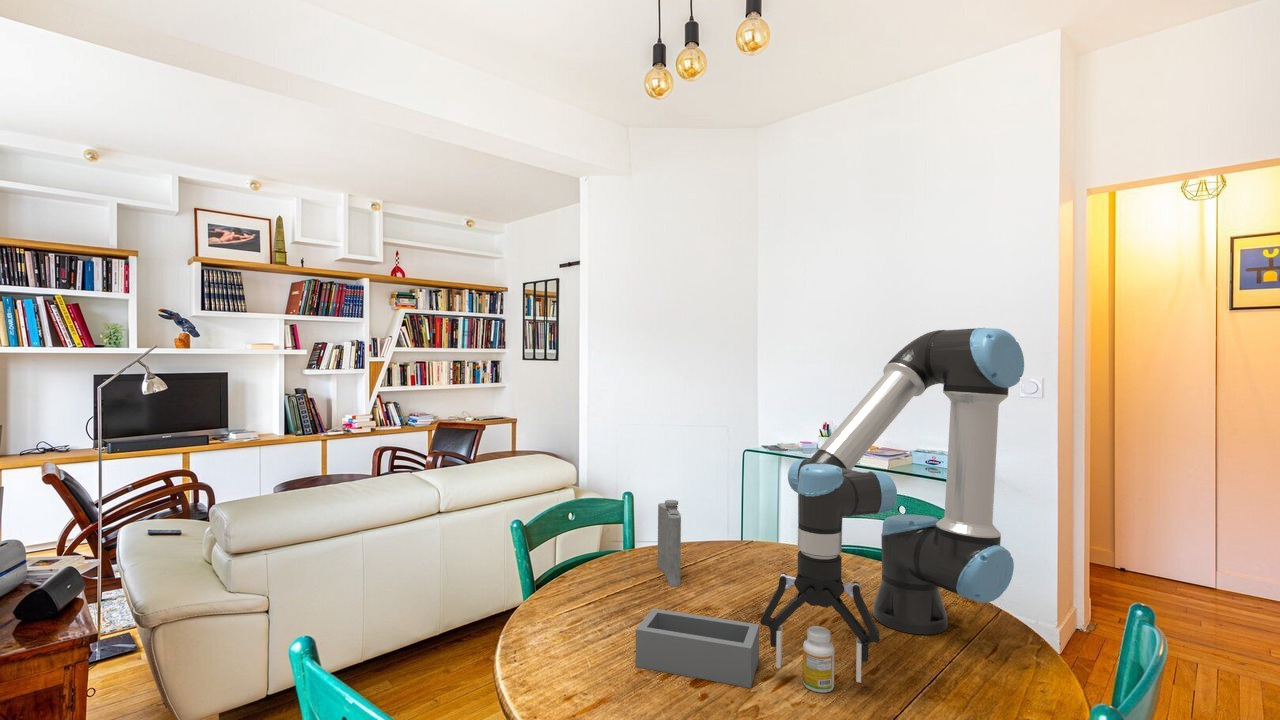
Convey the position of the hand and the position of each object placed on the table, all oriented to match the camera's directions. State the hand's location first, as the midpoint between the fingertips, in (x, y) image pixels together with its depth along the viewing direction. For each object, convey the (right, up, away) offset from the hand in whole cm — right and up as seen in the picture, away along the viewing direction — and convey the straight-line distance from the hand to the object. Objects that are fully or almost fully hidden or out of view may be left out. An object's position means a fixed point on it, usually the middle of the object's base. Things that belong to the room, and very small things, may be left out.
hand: (817, 671), depth 107 cm
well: (-21, -2, +7) cm, 22 cm away
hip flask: (-24, -2, +54) cm, 59 cm away
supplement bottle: (0, -3, 0) cm, 3 cm away
